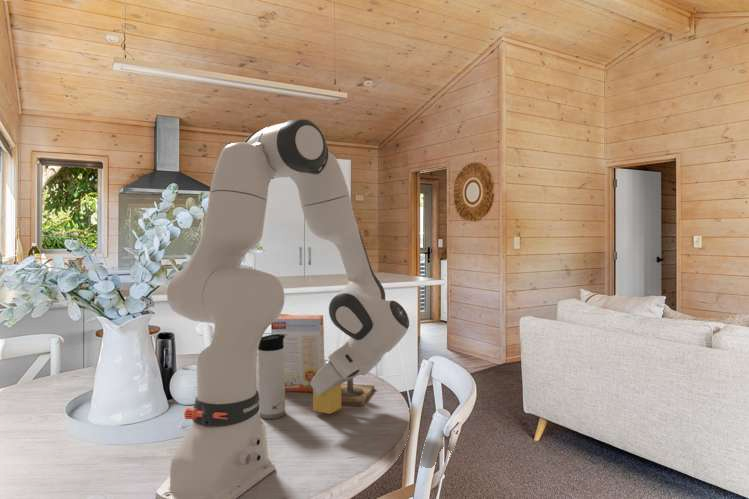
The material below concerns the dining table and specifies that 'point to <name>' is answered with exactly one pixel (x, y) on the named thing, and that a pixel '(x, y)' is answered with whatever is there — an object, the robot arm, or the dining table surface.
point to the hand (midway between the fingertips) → (325, 390)
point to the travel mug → (271, 376)
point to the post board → (355, 393)
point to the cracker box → (301, 349)
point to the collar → (328, 400)
